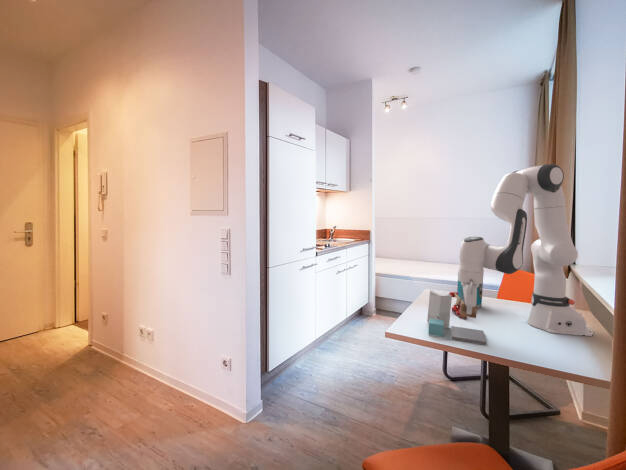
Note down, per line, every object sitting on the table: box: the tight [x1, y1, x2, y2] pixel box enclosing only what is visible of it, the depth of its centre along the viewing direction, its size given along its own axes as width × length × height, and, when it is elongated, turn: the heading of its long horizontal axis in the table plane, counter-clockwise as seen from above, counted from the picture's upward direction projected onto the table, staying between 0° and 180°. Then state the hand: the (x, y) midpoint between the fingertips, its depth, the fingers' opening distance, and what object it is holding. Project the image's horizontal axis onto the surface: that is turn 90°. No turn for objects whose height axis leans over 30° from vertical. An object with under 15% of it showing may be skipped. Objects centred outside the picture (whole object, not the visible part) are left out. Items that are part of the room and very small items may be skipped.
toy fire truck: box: [448, 291, 468, 319], centre depth 151 cm, size 3×14×10 cm, turn 179°
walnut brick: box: [460, 300, 478, 319], centre depth 123 cm, size 6×6×5 cm
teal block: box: [427, 319, 444, 338], centre depth 127 cm, size 6×6×5 cm
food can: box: [456, 270, 484, 309], centre depth 164 cm, size 12×12×18 cm
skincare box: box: [426, 289, 453, 329], centre depth 136 cm, size 8×6×15 cm
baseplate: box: [450, 325, 487, 346], centre depth 124 cm, size 12×12×1 cm
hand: (468, 311), depth 123 cm, fingers closed on walnut brick, 5 cm apart
